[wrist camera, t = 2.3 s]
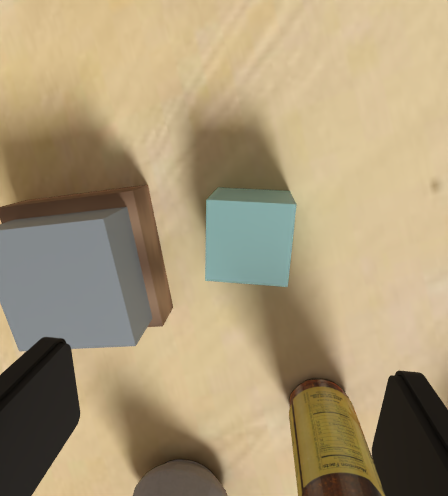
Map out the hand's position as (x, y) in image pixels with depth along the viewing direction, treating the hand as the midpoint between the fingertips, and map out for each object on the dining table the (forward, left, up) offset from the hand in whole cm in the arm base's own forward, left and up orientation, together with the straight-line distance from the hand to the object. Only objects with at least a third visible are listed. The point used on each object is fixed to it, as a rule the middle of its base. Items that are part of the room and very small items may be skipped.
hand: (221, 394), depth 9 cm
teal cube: (0, 0, -20) cm, 20 cm away
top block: (+4, -14, -16) cm, 22 cm away
